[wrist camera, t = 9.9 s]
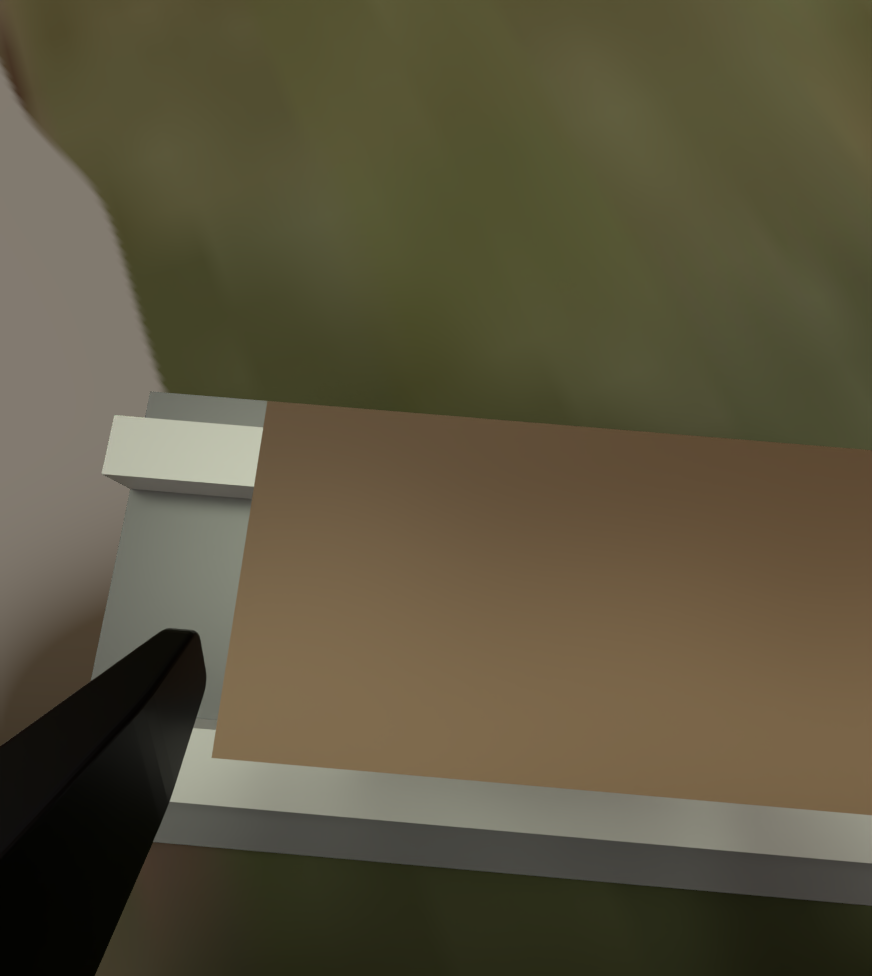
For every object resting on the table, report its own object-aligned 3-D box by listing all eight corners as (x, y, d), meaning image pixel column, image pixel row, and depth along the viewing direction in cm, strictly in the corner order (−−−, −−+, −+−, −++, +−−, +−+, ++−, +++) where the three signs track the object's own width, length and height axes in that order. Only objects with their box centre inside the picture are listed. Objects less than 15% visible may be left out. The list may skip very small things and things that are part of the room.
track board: (854, 890, 15) (933, 936, 13) (82, 822, 16) (18, 854, 13) (824, 459, 18) (886, 430, 16) (164, 404, 18) (124, 368, 16)
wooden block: (613, 710, 15) (923, 818, 6) (347, 687, 16) (211, 757, 6) (615, 543, 16) (883, 397, 7) (365, 522, 16) (275, 349, 7)
